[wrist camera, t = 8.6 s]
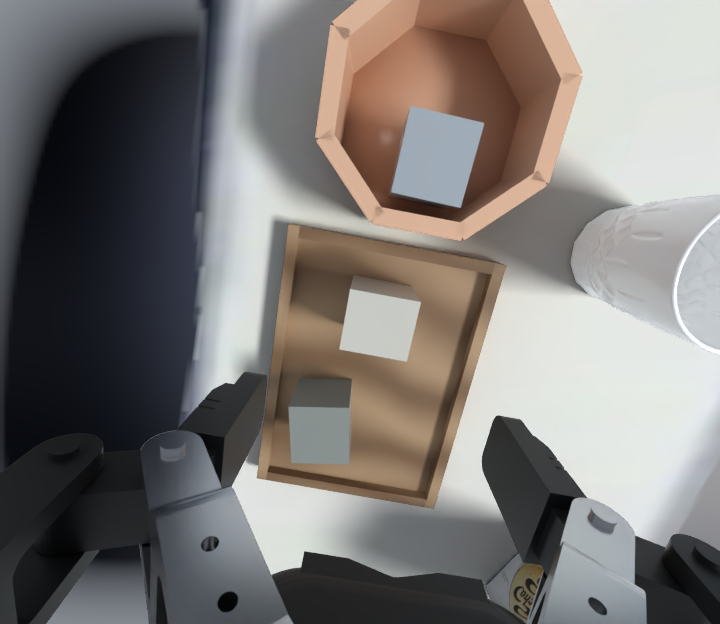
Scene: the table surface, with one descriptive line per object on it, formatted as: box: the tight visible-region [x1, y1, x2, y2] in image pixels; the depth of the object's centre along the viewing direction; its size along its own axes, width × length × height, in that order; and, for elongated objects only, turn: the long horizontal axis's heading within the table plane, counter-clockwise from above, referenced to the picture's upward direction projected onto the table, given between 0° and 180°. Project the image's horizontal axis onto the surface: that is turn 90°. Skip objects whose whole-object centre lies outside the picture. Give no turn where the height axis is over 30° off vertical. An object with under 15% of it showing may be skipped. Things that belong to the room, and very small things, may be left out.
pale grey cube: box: [339, 275, 421, 362], centre depth 24 cm, size 4×4×5 cm
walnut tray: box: [257, 224, 506, 509], centre depth 28 cm, size 22×16×1 cm
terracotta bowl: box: [315, 0, 582, 241], centre depth 21 cm, size 13×13×6 cm
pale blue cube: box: [387, 106, 484, 209], centre depth 22 cm, size 4×4×5 cm
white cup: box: [570, 194, 720, 355], centre depth 21 cm, size 8×8×10 cm
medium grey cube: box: [288, 378, 352, 464], centre depth 27 cm, size 5×4×4 cm
